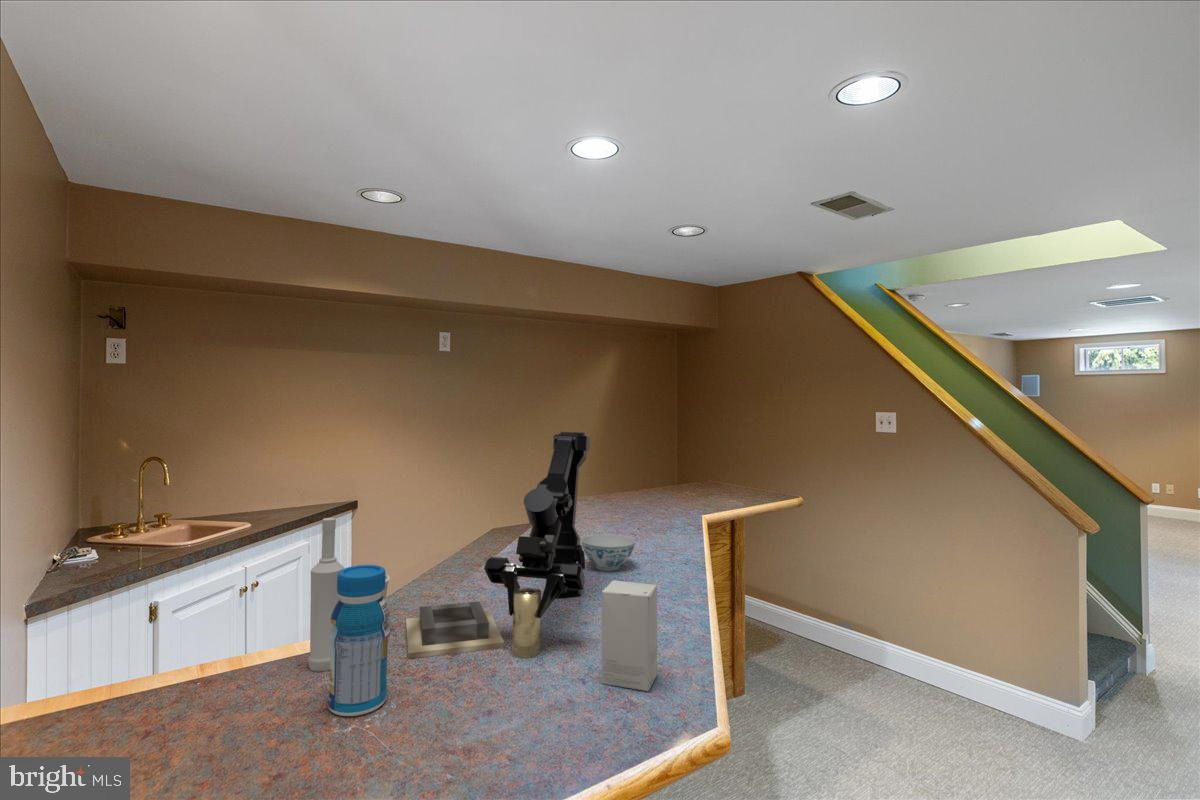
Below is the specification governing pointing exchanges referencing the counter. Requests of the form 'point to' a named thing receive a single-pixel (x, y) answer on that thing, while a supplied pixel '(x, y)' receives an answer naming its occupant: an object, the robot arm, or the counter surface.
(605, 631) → the skincare box
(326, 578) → the bottle
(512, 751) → the counter surface
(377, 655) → the beverage bottle
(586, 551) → the chinaware
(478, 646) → the jig plate
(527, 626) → the cylinder
